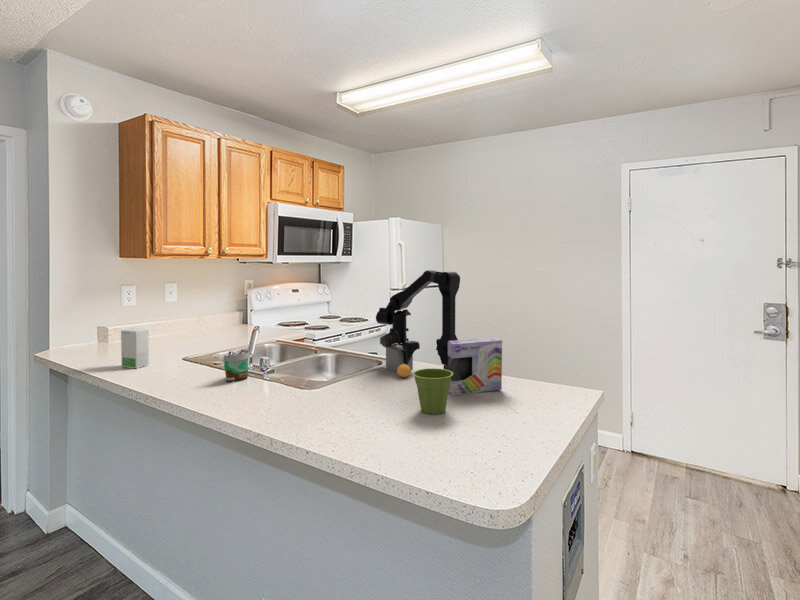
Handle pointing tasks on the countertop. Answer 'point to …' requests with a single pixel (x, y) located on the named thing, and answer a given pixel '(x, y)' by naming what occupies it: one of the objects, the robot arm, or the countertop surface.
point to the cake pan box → (475, 365)
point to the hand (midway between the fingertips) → (399, 364)
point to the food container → (237, 366)
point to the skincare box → (135, 348)
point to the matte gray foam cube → (396, 358)
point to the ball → (403, 370)
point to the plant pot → (433, 389)
